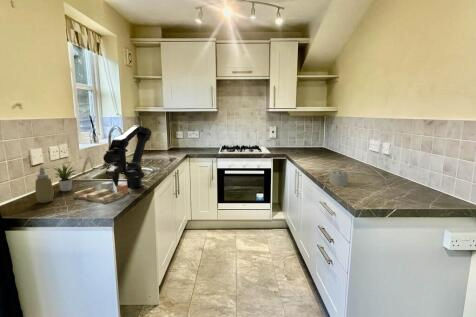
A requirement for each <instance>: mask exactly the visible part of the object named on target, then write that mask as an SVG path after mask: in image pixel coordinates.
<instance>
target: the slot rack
mask: <svg viewBox="0 0 476 317" xmlns="http://www.w3.org/2000/svg"><path fill="white" fill-rule="evenodd" d="M124 195H125V194H123V191H120V192H117V191H116V192H115V193H113V192H112V191H111V190H109V189H103V190H96V187H95V186H94V187H89V188H86V189H82V190H80V191H79V190H78V191H76V192H74V199H80V200H86V201H90V202H95V203H96V202H98V203H104V204H107V202H108V203H110V202H113V201H116V200H119V199H121V198H123V196H124ZM120 197H121V198H120ZM118 198H119V199H118ZM115 199H116V200H115ZM112 200H113V201H112Z"/></svg>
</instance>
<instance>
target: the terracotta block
mask: <svg viewBox="0 0 476 317" xmlns="http://www.w3.org/2000/svg"><path fill="white" fill-rule="evenodd" d="M115 187H116V193H117V192H120V191H123V194H124V195H126V194H125V193H127V194H129V193H130V191H129V190H130V188H128V186H127V183H121V184H118V185H116V186H115ZM128 192H129V193H128Z"/></svg>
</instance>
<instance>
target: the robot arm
mask: <svg viewBox="0 0 476 317" xmlns="http://www.w3.org/2000/svg"><path fill="white" fill-rule="evenodd" d="M151 135H152V131H151V129H150V128H147V127H144V126H142V125H136V124H135V125H134V124H133V125H131V127H130V128H129V129H128V130H127V131H126V132H124V133H123V134H122V135H120V136H117V137H115V138H113V139H112V140H111V142H110V143H111V144H110V146H109V149H108V150H106V151H105V154H103V158H102V159H103V161H104V163H106V164H107V165H109V164H112V163H113V165H112V166H111V167H109V168H107V169H106V170H105V175H107V176H108V177H109V178H111V180H112V181H113V185H114V186H115V187H116V185H119V180H120V175H124V176H125V177H124V179H125V180H126V184H127V186H128V188H129V189H134V188H136V189H135V190H137V188H138V189H141V188H144V187H145V185H143V181H142V180H143V179H144V178H145V173H144V172H143V171H142V170H143V167H142V165H141V162H142V158H143V154H144V152H145V146H146V143H147V142H148V141H149V140H150V138H151ZM134 137H136V138H137V142H136V146H135V150H134V153H133V156H132V158H131V159H132V160H131V161H130V162H129V161H127V156H126V155H127V154H126V153H127V152H128V151H129V150H127V149H126V148H127V147H128V146H129V142H130V141H131V140H132V139H133V138H134Z"/></svg>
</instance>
